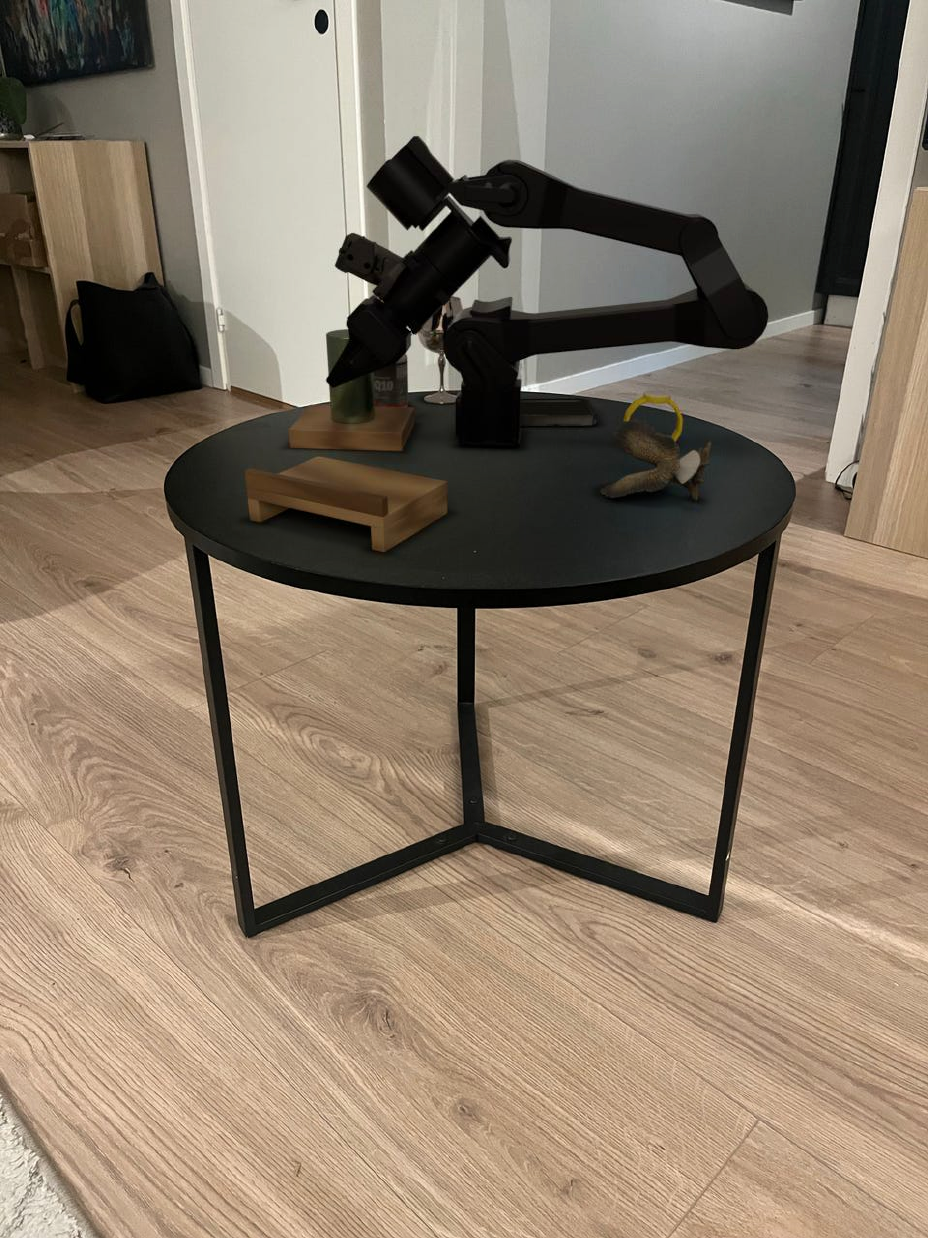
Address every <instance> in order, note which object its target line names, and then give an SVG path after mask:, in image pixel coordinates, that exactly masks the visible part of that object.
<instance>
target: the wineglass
mask: <svg viewBox="0 0 928 1238" xmlns="http://www.w3.org/2000/svg"><path fill="white" fill-rule="evenodd" d="M463 309H464V308H463V305H462V299H461V298H460V297H458V296H455V295H453V296H452V298H451V299H450V300H449V301H448V302H447V303H446V304H445V305H444V306H442V307H441V308H440V309H439V310H438V311H437V312H436V313H435V314H434V315H433V316H432V317H431V318H430V319H429V320H428V321H427V322H426V323H425V325H424V326H423V328H422V329H421V330H420V331H419V332H418V333H417V336H418V340H419V342H420V344H421V345H422V346H423V347H424V348H425V349H426V350H428V351H430V352H432V353H435V354H438V355H439V356H438V357H437V366H438V372H439V389H438V391H437V392H435V393H432V394H428V395H425V397H424V398H423V400H424V401H425V402H427V403H431V404H441V405H442V404H443V405H445V404H446V405H447V404H453V403H456V397H457V394H451V393H448V392H447V391H446V389H445V384H444V383H445V382H444V381H445V380H444V379H445V378H444V377H445V375H444V374H445V367H446V363H447V362H446V360H447V359H446V357H445V354H444V350H443V340H444V337H445V334H446V331H447V329H448V327H449V325H450V323H451V321H452V320H453V319H454V317H455V316H456V315H457V314H458V313H459V312H460V311H461V310H463Z"/></svg>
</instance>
